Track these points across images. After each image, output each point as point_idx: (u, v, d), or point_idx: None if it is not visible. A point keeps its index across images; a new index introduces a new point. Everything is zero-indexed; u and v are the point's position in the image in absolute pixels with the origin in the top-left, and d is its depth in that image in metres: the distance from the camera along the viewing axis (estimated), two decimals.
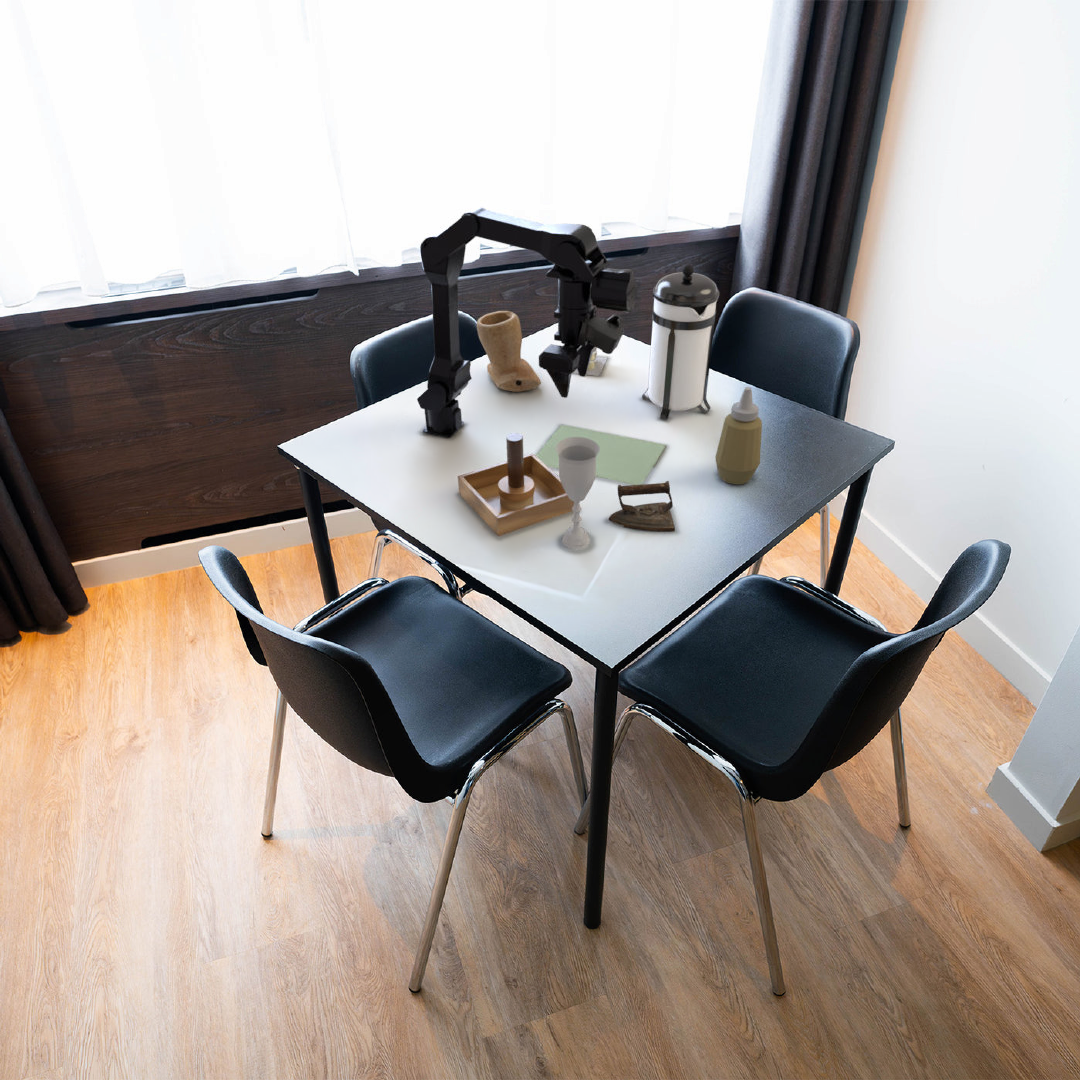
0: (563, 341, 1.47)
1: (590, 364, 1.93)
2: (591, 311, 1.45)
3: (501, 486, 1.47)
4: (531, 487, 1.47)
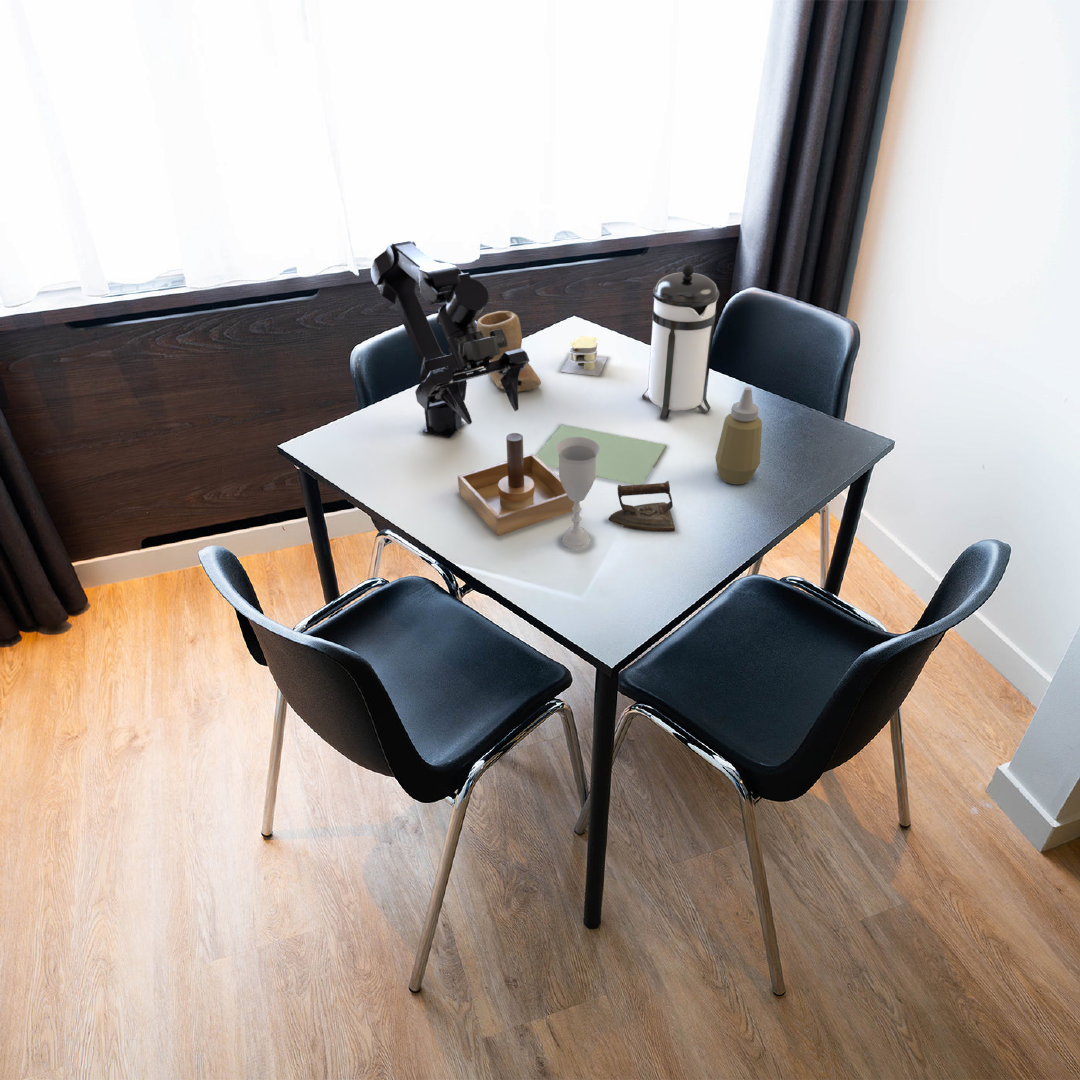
0: None
1: (590, 364, 1.93)
2: (472, 334, 1.46)
3: (501, 486, 1.47)
4: (531, 487, 1.47)
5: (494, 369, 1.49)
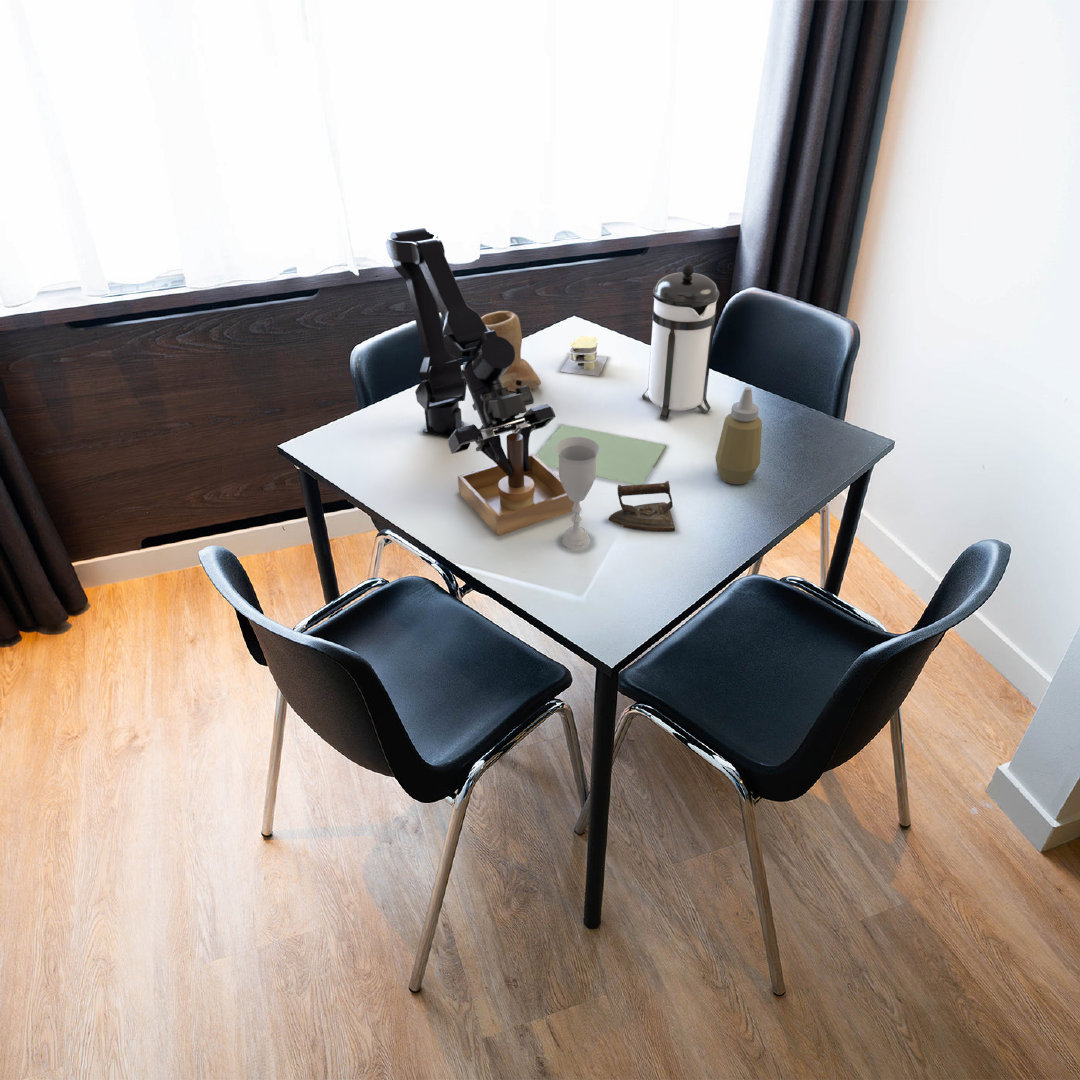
0: None
1: (590, 364, 1.93)
2: (498, 390, 1.44)
3: (501, 486, 1.47)
4: (531, 487, 1.47)
5: None
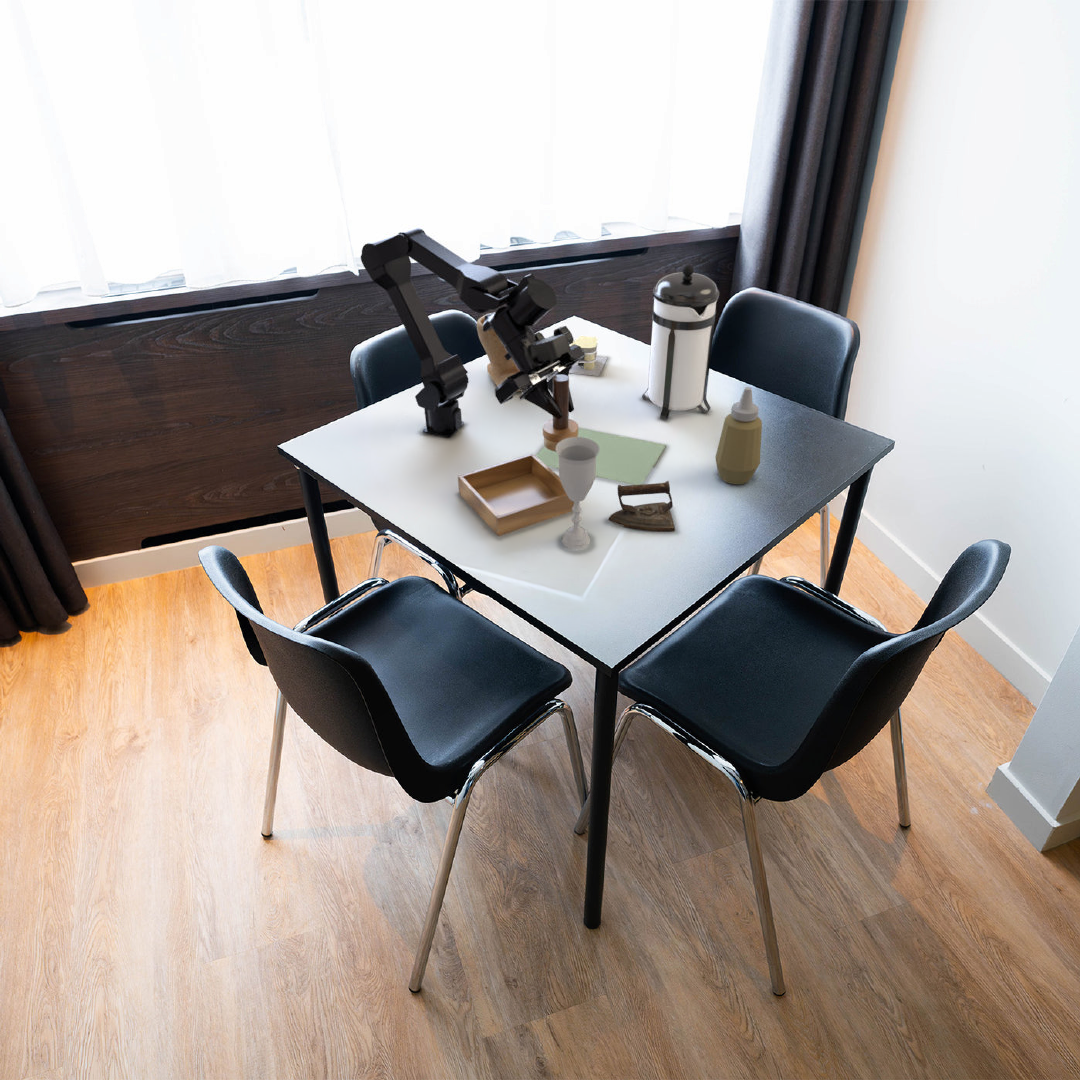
0: None
1: (590, 364, 1.93)
2: (533, 335, 1.46)
3: (548, 430, 1.49)
4: (577, 426, 1.50)
5: None
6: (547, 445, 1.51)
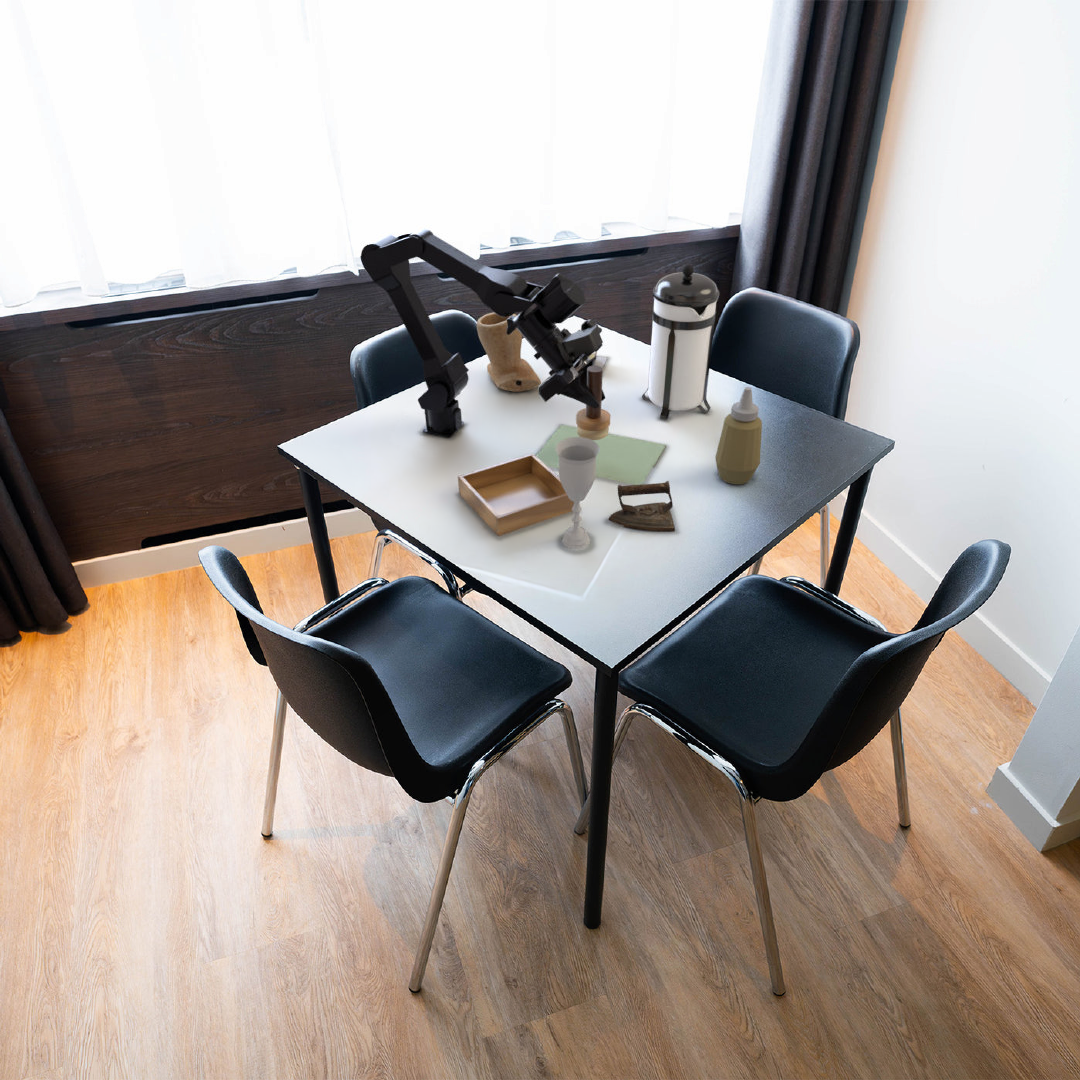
0: None
1: None
2: (561, 332, 1.51)
3: (585, 420, 1.56)
4: (608, 413, 1.58)
5: None
6: (584, 435, 1.57)
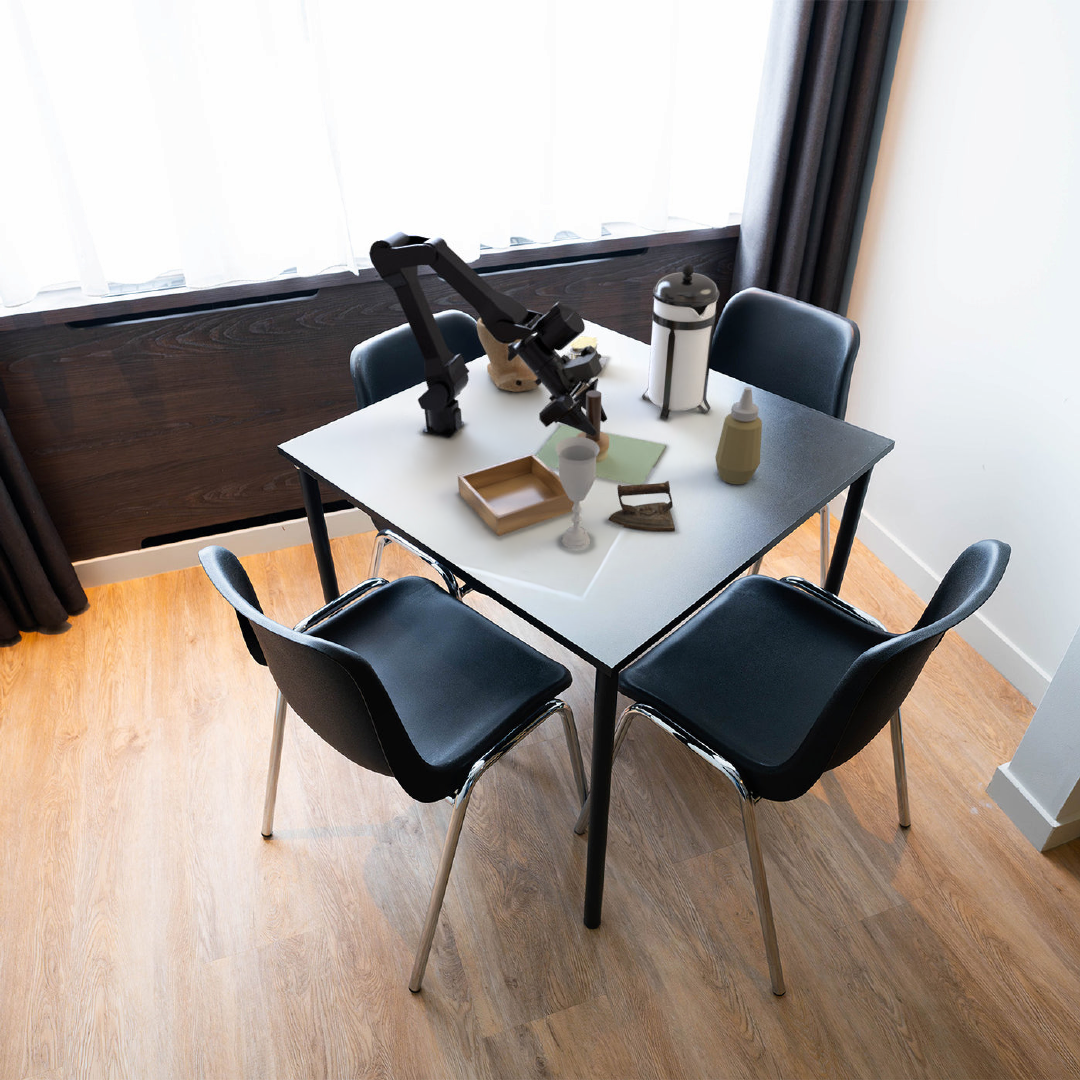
0: None
1: None
2: (561, 358, 1.54)
3: None
4: (607, 436, 1.61)
5: (580, 386, 1.59)
6: None
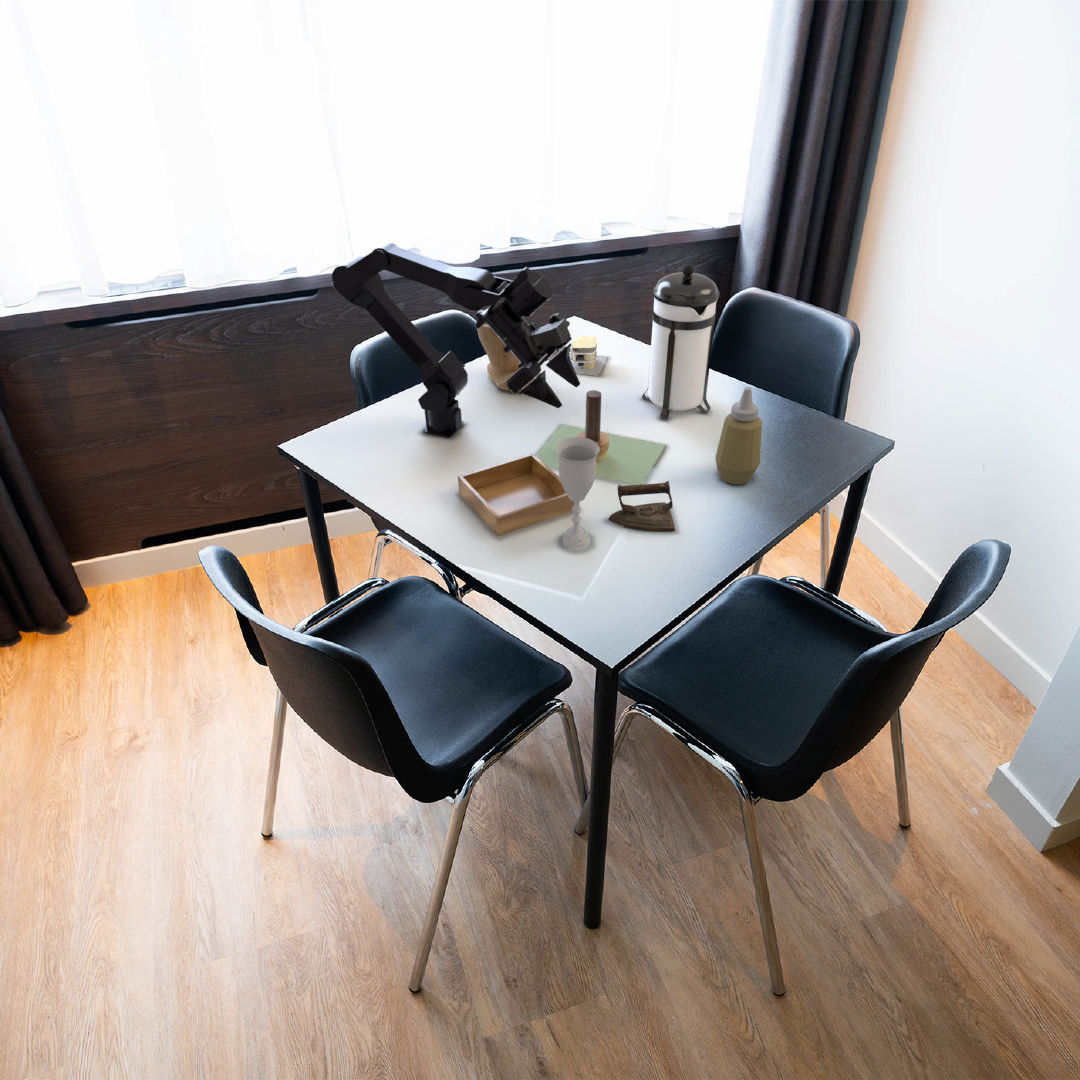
0: None
1: (590, 364, 1.93)
2: (529, 325, 1.53)
3: None
4: (607, 436, 1.61)
5: (549, 354, 1.58)
6: None
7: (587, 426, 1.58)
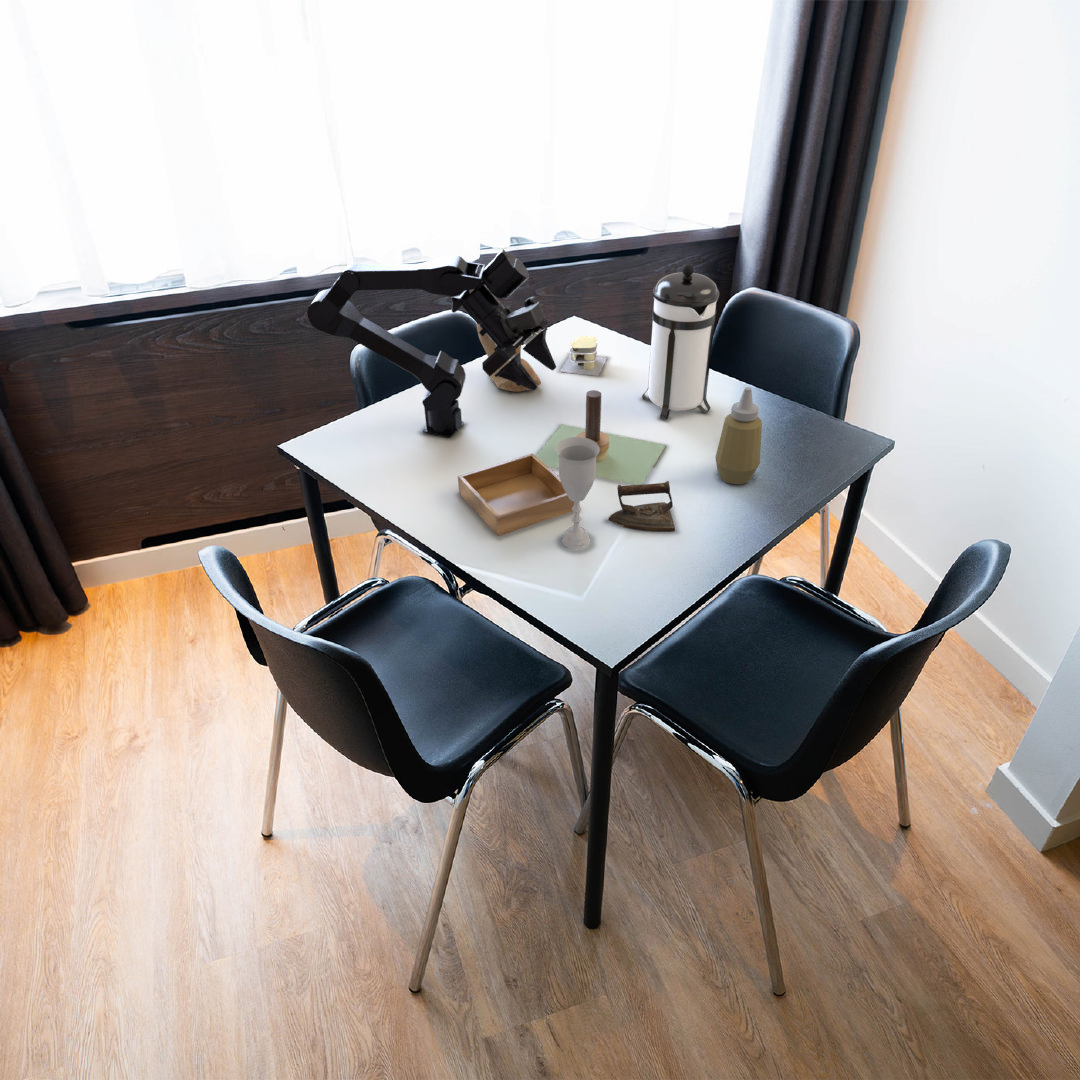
0: None
1: (590, 364, 1.93)
2: (505, 309, 1.55)
3: None
4: (607, 436, 1.61)
5: (525, 338, 1.60)
6: None
7: (587, 426, 1.58)
